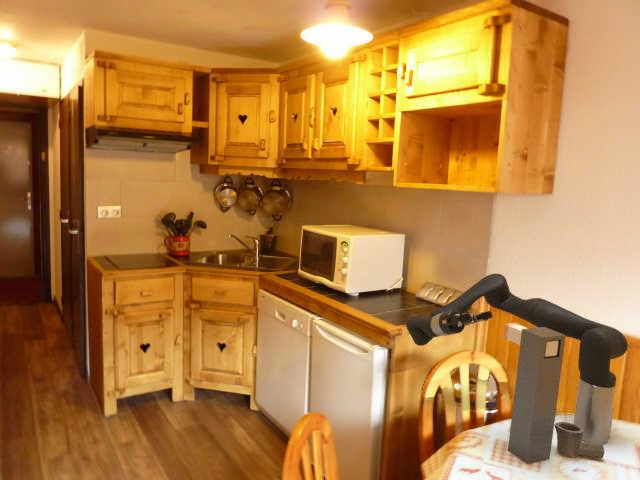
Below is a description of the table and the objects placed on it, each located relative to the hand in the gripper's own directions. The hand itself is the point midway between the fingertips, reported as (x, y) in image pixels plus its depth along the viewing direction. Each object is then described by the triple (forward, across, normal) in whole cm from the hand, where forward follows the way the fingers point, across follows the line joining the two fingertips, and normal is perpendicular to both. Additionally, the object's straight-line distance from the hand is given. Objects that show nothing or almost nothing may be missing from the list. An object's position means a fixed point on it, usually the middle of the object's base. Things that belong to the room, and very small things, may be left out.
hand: (480, 315), depth 151 cm
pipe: (+10, +14, +42) cm, 45 cm away
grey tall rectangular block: (+5, 0, +39) cm, 40 cm away
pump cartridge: (+15, +1, +11) cm, 18 cm away
